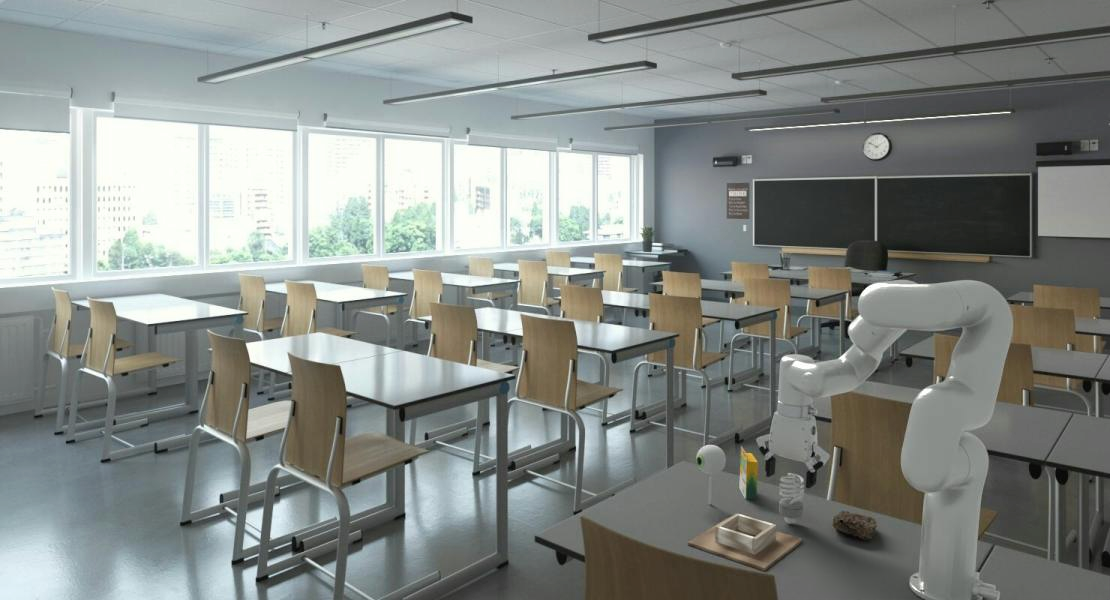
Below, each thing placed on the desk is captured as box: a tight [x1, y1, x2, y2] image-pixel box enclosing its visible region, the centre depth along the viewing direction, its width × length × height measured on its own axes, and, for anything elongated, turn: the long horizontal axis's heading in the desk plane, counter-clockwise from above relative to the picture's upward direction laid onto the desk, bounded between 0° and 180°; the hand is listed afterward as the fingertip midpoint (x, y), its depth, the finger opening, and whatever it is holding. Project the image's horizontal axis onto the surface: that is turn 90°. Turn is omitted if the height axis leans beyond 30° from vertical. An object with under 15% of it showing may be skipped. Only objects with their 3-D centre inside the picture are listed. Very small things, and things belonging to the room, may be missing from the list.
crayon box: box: [738, 445, 759, 501], centre depth 199 cm, size 7×3×12 cm, turn 179°
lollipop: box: [695, 444, 727, 505], centre depth 192 cm, size 7×7×15 cm
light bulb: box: [778, 472, 806, 525], centre depth 181 cm, size 6×6×12 cm
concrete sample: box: [831, 510, 878, 540], centre depth 177 cm, size 12×10×5 cm
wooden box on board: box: [687, 512, 803, 572], centre depth 171 cm, size 18×18×4 cm
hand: (789, 480), depth 181 cm, fingers open, 9 cm apart
